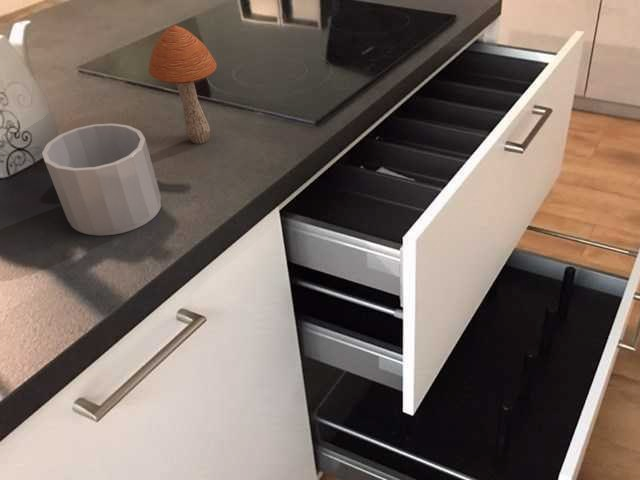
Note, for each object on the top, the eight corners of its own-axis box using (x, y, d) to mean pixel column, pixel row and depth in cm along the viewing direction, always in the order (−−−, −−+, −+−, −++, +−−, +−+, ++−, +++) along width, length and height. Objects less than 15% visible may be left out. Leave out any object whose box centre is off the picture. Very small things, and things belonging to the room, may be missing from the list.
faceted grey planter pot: (77, 246, 69) (51, 179, 63) (60, 200, 75) (35, 136, 70) (172, 219, 72) (155, 154, 67) (148, 178, 79) (131, 116, 74)
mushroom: (185, 163, 82) (157, 42, 72) (156, 139, 86) (126, 22, 76) (241, 143, 86) (221, 26, 76) (210, 122, 90) (188, 8, 80)
